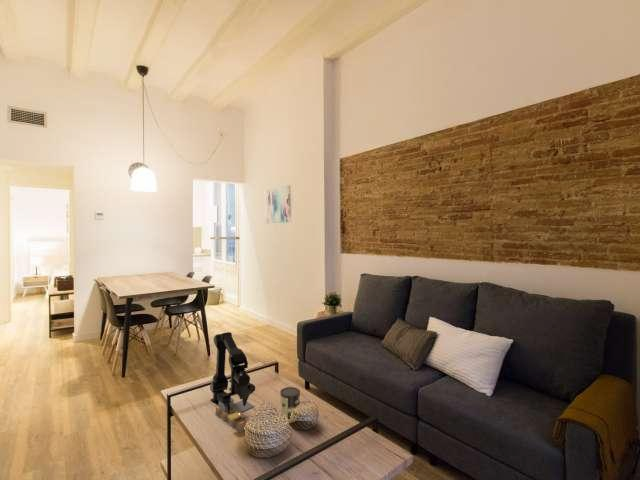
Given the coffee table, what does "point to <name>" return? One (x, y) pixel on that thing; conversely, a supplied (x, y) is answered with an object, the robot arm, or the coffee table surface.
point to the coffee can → (289, 400)
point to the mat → (240, 406)
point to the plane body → (236, 424)
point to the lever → (235, 416)
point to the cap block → (222, 407)
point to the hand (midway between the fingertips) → (236, 409)
